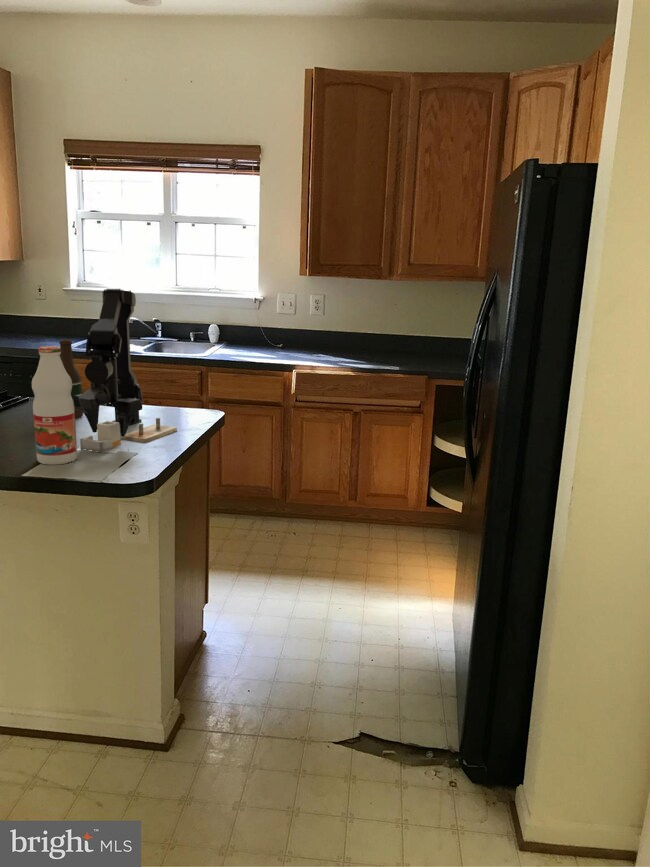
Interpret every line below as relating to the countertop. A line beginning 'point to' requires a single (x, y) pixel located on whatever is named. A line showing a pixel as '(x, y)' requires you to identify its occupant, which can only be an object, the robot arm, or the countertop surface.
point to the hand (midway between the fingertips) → (108, 434)
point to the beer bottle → (71, 370)
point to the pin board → (149, 432)
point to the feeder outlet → (95, 444)
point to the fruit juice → (53, 410)
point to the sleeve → (109, 432)
